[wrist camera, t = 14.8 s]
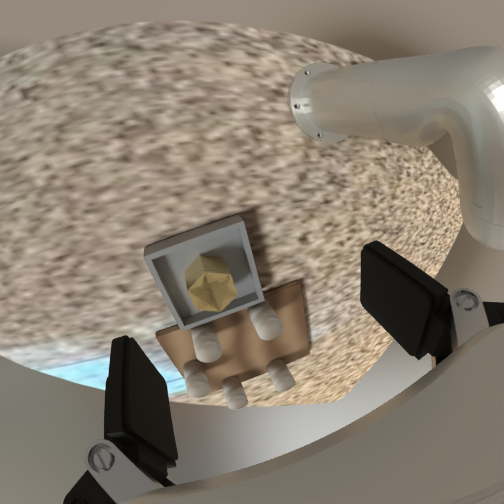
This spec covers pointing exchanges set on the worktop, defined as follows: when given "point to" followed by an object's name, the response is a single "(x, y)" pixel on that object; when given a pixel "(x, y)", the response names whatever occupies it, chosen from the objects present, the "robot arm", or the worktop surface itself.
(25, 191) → the worktop surface
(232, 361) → the board
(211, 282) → the faceted yellow gem
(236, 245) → the tray
